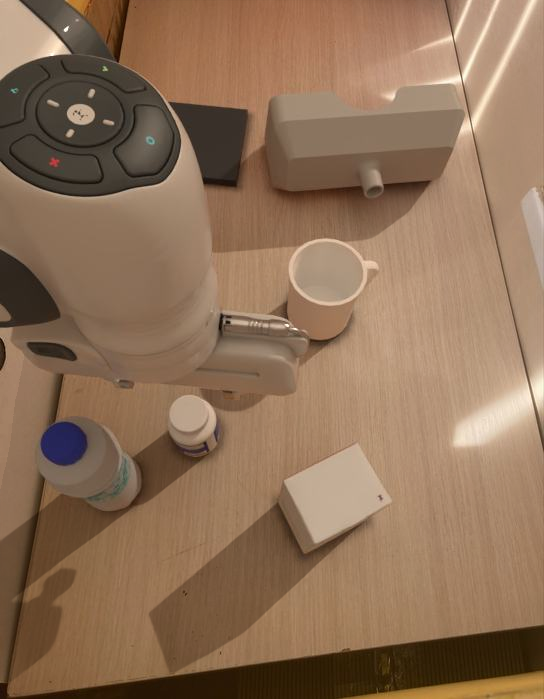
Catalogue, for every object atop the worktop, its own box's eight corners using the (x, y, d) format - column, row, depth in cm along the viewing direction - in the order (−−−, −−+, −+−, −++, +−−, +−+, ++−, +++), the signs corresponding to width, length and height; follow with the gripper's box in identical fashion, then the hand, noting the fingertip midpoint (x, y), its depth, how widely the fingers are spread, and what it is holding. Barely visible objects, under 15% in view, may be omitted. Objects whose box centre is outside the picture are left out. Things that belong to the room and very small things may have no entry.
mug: (294, 352, 67) (301, 313, 58) (275, 292, 71) (279, 247, 61) (376, 332, 69) (395, 291, 60) (353, 274, 72) (368, 228, 63)
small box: (338, 468, 62) (358, 440, 50) (367, 520, 59) (395, 503, 48) (275, 501, 60) (281, 479, 48) (302, 555, 58) (315, 547, 46)
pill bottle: (193, 405, 64) (185, 378, 56) (228, 430, 63) (225, 406, 55) (165, 440, 62) (151, 418, 54) (200, 467, 61) (192, 448, 53)
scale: (134, 181, 78) (130, 166, 75) (153, 107, 84) (150, 91, 81) (235, 191, 78) (235, 176, 75) (247, 116, 84) (247, 100, 81)
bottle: (130, 443, 62) (79, 383, 44) (157, 494, 60) (115, 452, 42) (76, 475, 60) (-1, 426, 42) (102, 528, 58) (33, 500, 40)
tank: (277, 228, 75) (282, 164, 64) (263, 142, 81) (265, 70, 70) (449, 214, 77) (484, 149, 66) (423, 131, 84) (450, 58, 72)
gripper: (315, 285, 36) (299, 364, 49) (13, 255, 36) (75, 342, 49) (309, 373, 33) (294, 432, 46) (-17, 339, 34) (57, 408, 46)
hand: (179, 385), depth 47 cm, fingers open, 8 cm apart
